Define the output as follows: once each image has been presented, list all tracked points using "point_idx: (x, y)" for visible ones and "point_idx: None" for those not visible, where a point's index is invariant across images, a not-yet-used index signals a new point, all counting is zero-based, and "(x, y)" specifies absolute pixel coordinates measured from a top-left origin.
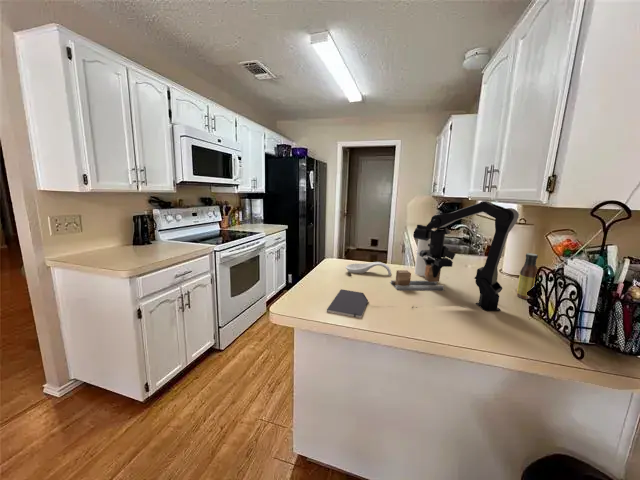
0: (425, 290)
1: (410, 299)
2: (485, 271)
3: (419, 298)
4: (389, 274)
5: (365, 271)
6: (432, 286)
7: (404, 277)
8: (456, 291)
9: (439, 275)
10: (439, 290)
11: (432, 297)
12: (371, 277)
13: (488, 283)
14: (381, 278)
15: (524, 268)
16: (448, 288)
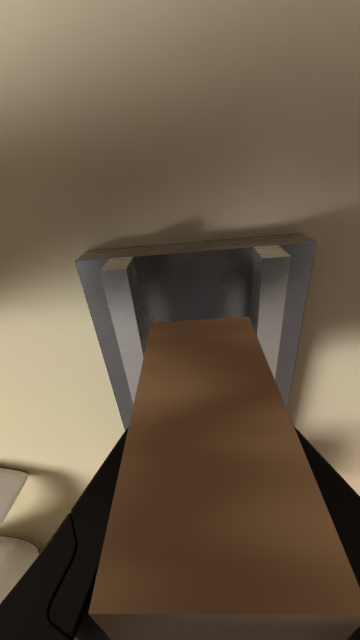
0: (287, 401)
1: (346, 465)
2: None
3: (345, 430)
4: (14, 500)
5: (24, 563)
6: (274, 366)
7: None
8: (245, 10)
9: (272, 381)
10: (304, 301)
11: (351, 362)
12: (52, 524)
13: None
14: (49, 499)
15: None
16: (141, 92)
